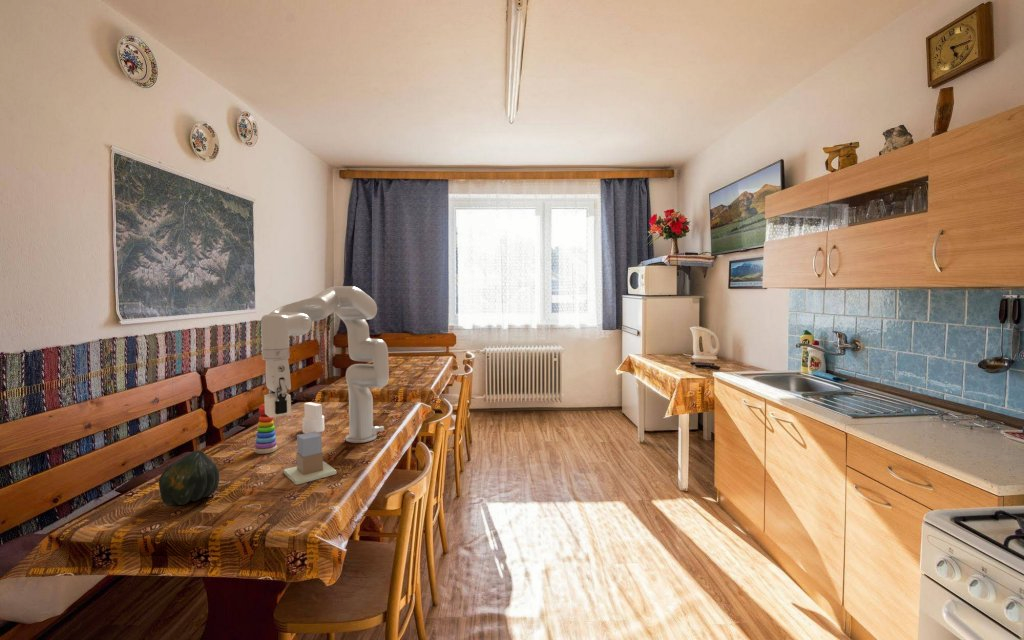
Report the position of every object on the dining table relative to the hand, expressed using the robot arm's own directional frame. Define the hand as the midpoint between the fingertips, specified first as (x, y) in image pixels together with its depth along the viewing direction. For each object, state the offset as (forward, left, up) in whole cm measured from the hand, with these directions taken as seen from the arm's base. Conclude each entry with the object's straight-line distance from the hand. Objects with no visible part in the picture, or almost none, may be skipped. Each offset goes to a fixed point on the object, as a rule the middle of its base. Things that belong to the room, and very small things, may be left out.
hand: (278, 410), depth 142 cm
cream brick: (0, 0, -1) cm, 1 cm away
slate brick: (-11, -5, -17) cm, 21 cm away
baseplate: (-11, -5, -24) cm, 27 cm away
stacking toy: (-6, -39, -25) cm, 46 cm away
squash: (+22, -9, -25) cm, 34 cm away
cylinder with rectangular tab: (-29, -54, -25) cm, 66 cm away
